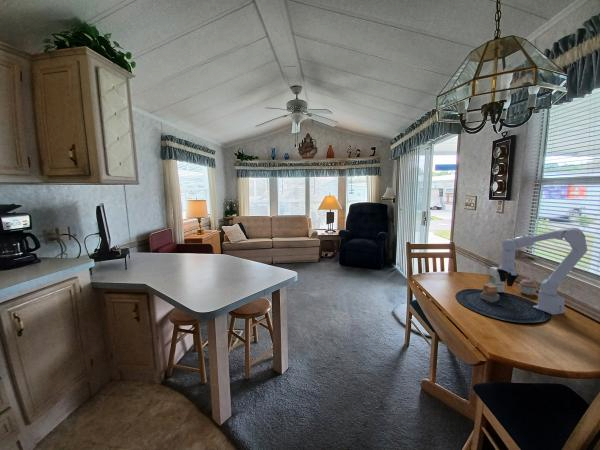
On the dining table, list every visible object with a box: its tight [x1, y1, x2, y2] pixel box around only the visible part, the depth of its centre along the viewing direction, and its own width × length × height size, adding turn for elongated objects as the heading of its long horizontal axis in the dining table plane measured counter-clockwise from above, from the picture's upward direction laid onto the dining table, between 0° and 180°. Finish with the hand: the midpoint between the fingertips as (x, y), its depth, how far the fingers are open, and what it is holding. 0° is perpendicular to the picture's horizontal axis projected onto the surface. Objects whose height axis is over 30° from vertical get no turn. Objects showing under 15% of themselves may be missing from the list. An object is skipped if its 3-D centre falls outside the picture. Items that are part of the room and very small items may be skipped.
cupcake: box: [517, 277, 539, 296], centre depth 154 cm, size 9×9×10 cm
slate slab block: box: [479, 292, 500, 304], centre depth 147 cm, size 6×6×4 cm
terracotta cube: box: [482, 283, 498, 296], centre depth 147 cm, size 4×4×5 cm
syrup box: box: [488, 266, 505, 293], centre depth 159 cm, size 6×6×14 cm
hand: (506, 283), depth 146 cm, fingers open, 7 cm apart
